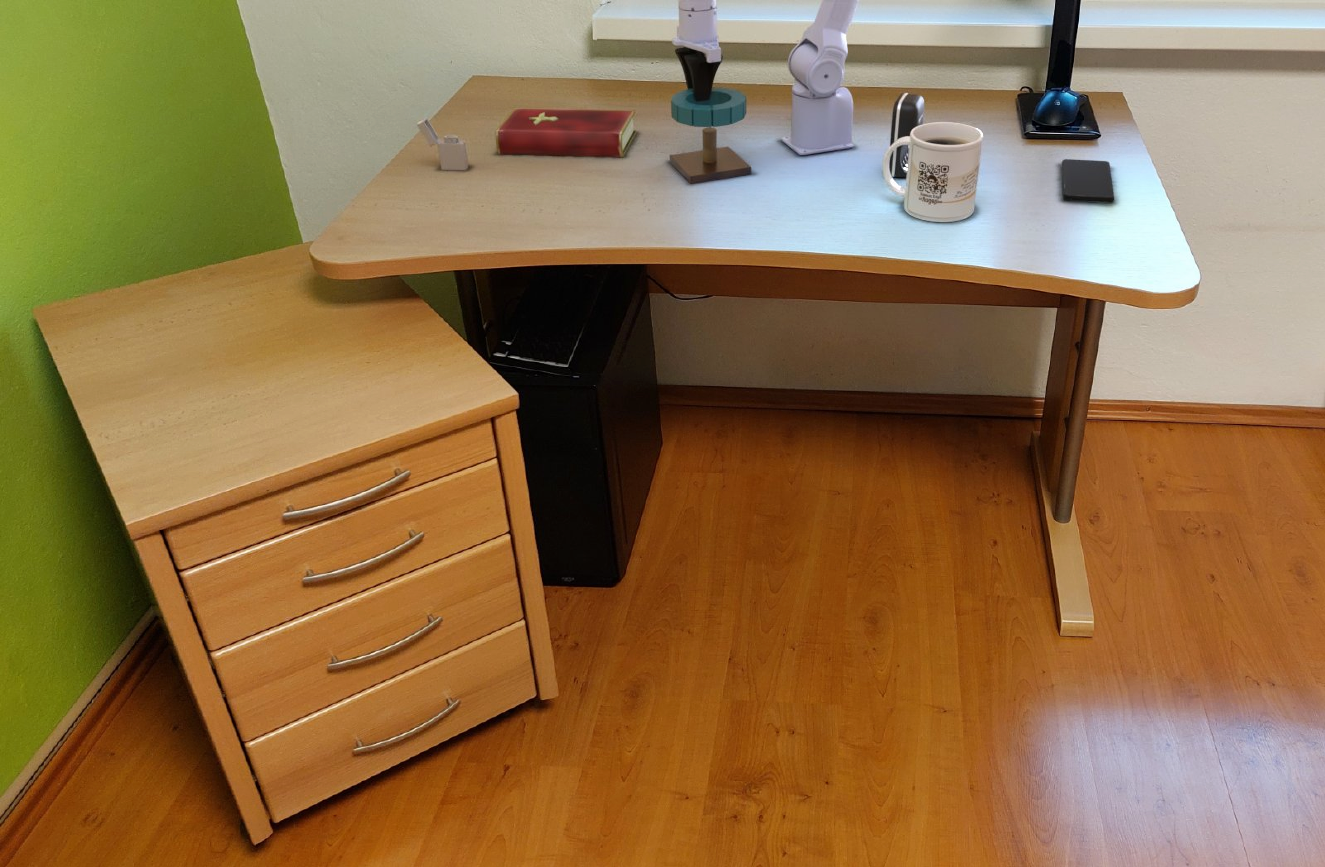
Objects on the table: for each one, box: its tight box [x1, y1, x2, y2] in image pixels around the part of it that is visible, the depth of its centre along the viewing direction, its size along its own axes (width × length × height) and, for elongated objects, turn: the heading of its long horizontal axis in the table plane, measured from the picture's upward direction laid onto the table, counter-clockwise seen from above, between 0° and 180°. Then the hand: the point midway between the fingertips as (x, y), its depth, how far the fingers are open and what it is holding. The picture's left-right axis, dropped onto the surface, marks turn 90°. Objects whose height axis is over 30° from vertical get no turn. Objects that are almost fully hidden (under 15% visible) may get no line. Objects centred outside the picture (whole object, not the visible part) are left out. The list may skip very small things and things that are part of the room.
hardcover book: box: [494, 107, 637, 158], centre depth 189 cm, size 12×21×4 cm, turn 80°
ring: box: [670, 86, 747, 128], centre depth 173 cm, size 11×11×3 cm
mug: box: [881, 121, 984, 223], centre depth 160 cm, size 10×12×11 cm
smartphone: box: [1061, 158, 1115, 203], centre depth 167 cm, size 7×1×15 cm
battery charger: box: [889, 92, 925, 178], centre depth 171 cm, size 7×4×11 cm, turn 159°
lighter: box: [416, 117, 469, 171], centre depth 180 cm, size 7×2×8 cm, turn 81°
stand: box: [669, 127, 752, 185], centre depth 177 cm, size 10×10×6 cm
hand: (699, 97), depth 176 cm, fingers closed on ring, 2 cm apart
